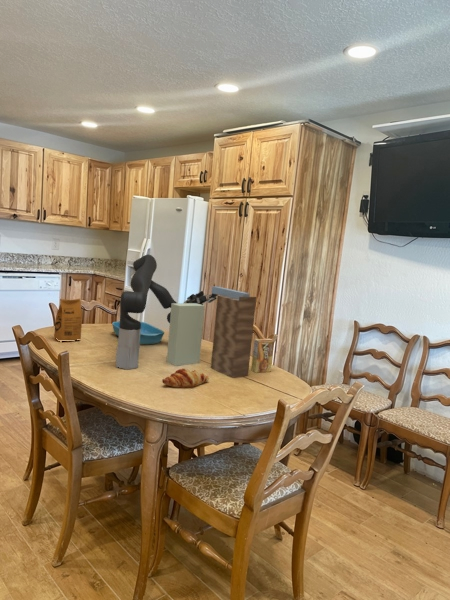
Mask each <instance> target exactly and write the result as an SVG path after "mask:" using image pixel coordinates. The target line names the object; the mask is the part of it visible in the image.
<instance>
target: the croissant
mask: <svg viewBox="0 0 450 600" xmlns="http://www.w3.org/2000/svg"><path fill="white" fill-rule="evenodd" d="M209 379H210V376H209V375H207V374H205V373H200V372H198V370H192V371H191V370H190V369H188V368H179V369H177V370H176V371H175V372H174V373H171V374H170V376H166V377H165V378H163V379H162V380H161V381H162V384H163V385H166V386H170V387H172V388H180V389H181V388H182V389H185V388H194V387H196V386H198V385H199V386H200V385H202V384H204V383H207V382H208V381H209Z"/></svg>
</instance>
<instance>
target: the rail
mask: <svg viewBox="0 0 450 600" xmlns="http://www.w3.org/2000/svg"><path fill="white" fill-rule="evenodd" d="M212 293H213V294H217V295H218V296H226V297H230V298H234V299H238V300H239V297H250V293H249V292H244V291H239V290H235V289H232V288H226V287H222V286H213V285H212V287H211V294H212Z"/></svg>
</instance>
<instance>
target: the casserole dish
mask: <svg viewBox="0 0 450 600" xmlns="http://www.w3.org/2000/svg"><path fill="white" fill-rule="evenodd" d="M139 322H140V323H141V332H140V344H145V345H155V344H159V343H160V342H161V340H162V339H163V337H164V335H165V331H164V330H162V329H160V328H158V327H156V326H155V325H152V324H150V323H148V322H145V321H139ZM119 325H120V320H119V321H113V322H112V325H111V326H112V329H113V332H114V334H115V335H117V337H119Z"/></svg>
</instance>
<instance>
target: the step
mask: <svg viewBox="0 0 450 600" xmlns="http://www.w3.org/2000/svg"><path fill="white" fill-rule="evenodd" d="M170 312H171V315H170V323H169V329H168V330H169V331H168V343H167V353H166V363H167V364H170V365H171V366H173V367H178V366H186V365H187V366H188V365H195V364H200V360H201V359H200V358H201V349H202V348H201V347H202V339H203V328H204V327H203V325H204V315H205V304H203V305H201V304H197V303H184V302H182V303H181V302H180V303H179V302H177V303H171V308H170Z"/></svg>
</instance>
